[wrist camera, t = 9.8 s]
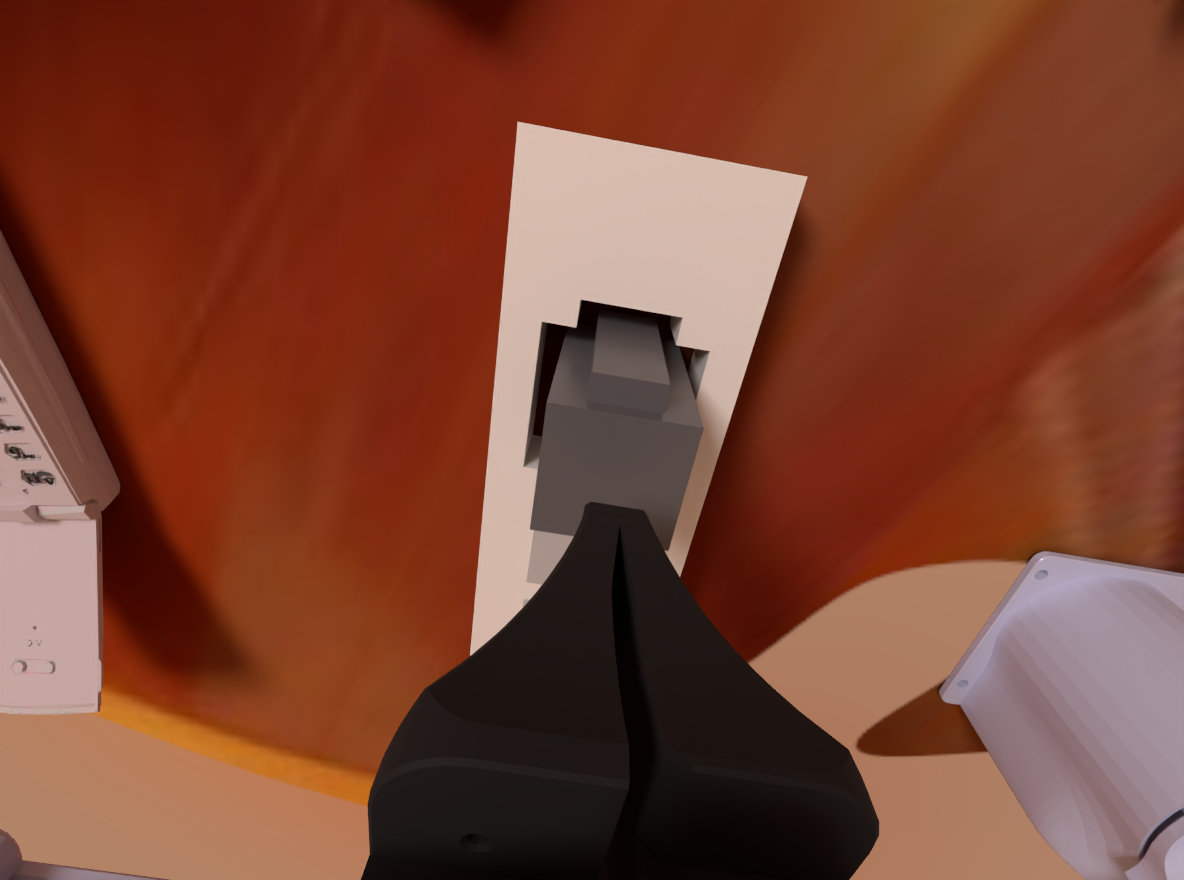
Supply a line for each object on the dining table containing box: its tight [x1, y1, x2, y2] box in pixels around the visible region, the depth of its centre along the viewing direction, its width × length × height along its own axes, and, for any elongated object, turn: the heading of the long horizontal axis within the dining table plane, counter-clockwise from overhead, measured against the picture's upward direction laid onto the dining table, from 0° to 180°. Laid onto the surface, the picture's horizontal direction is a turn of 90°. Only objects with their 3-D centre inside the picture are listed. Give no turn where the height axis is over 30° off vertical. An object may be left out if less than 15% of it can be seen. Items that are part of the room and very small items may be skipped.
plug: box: [530, 309, 704, 551], centre depth 18 cm, size 5×4×7 cm
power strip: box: [470, 122, 807, 656], centre depth 23 cm, size 29×8×3 cm, turn 171°
